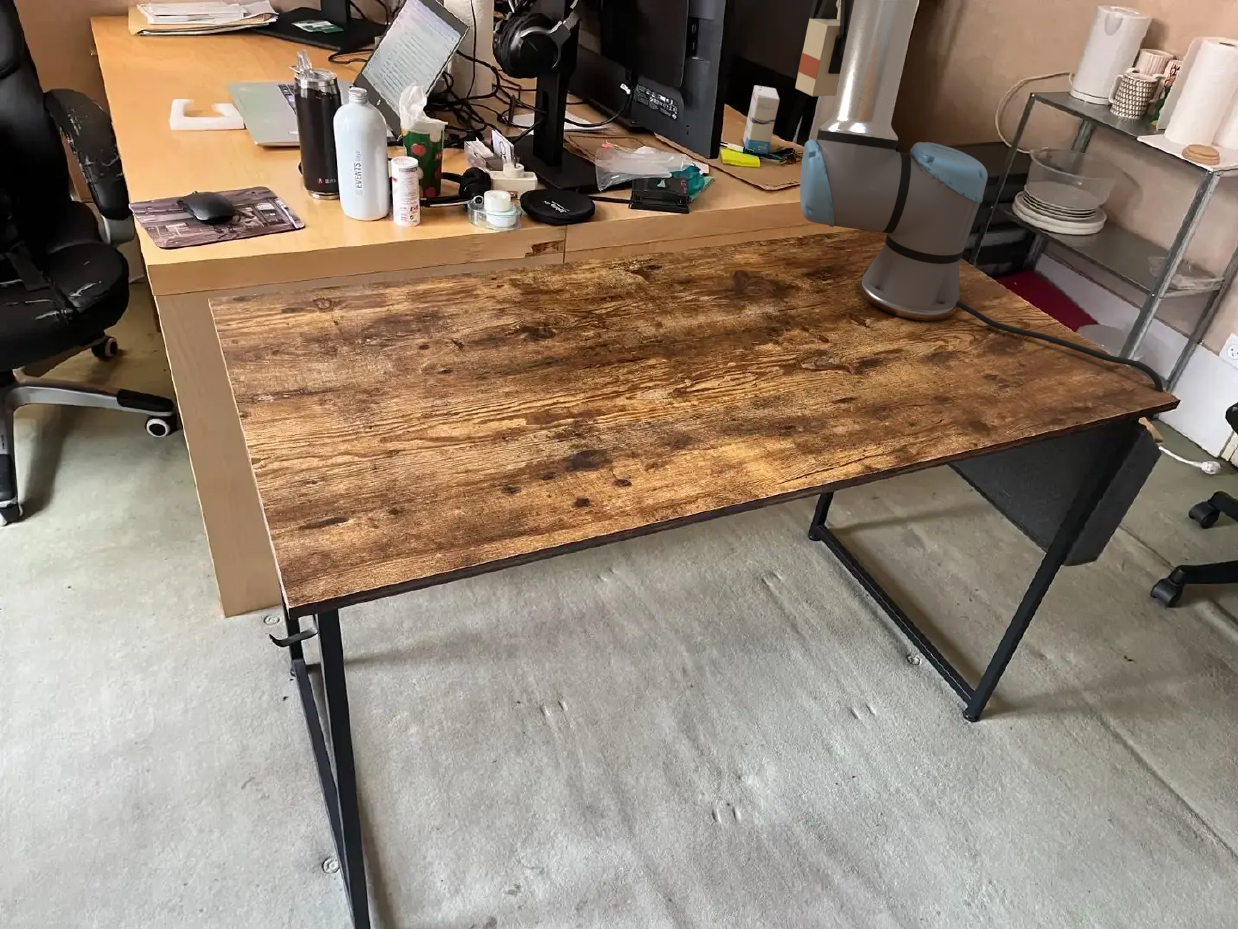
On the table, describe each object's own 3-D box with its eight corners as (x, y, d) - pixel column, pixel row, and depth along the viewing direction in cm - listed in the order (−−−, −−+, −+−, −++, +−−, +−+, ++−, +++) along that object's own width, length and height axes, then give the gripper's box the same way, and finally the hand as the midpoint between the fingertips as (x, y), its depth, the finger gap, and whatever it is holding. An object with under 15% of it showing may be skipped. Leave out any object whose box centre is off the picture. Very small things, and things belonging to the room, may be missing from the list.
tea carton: (849, 19, 181) (809, 18, 177) (868, 26, 177) (827, 25, 172) (834, 87, 188) (794, 87, 184) (851, 95, 184) (811, 96, 180)
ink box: (768, 155, 193) (780, 98, 186) (745, 152, 193) (757, 95, 186) (764, 142, 200) (776, 86, 193) (742, 139, 200) (753, 83, 193)
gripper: (902, -54, 162) (868, 81, 176) (839, -71, 176) (812, 56, 189) (869, -56, 159) (837, 81, 173) (807, -73, 173) (782, 56, 186)
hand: (824, 68), depth 181 cm, fingers closed on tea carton, 6 cm apart
